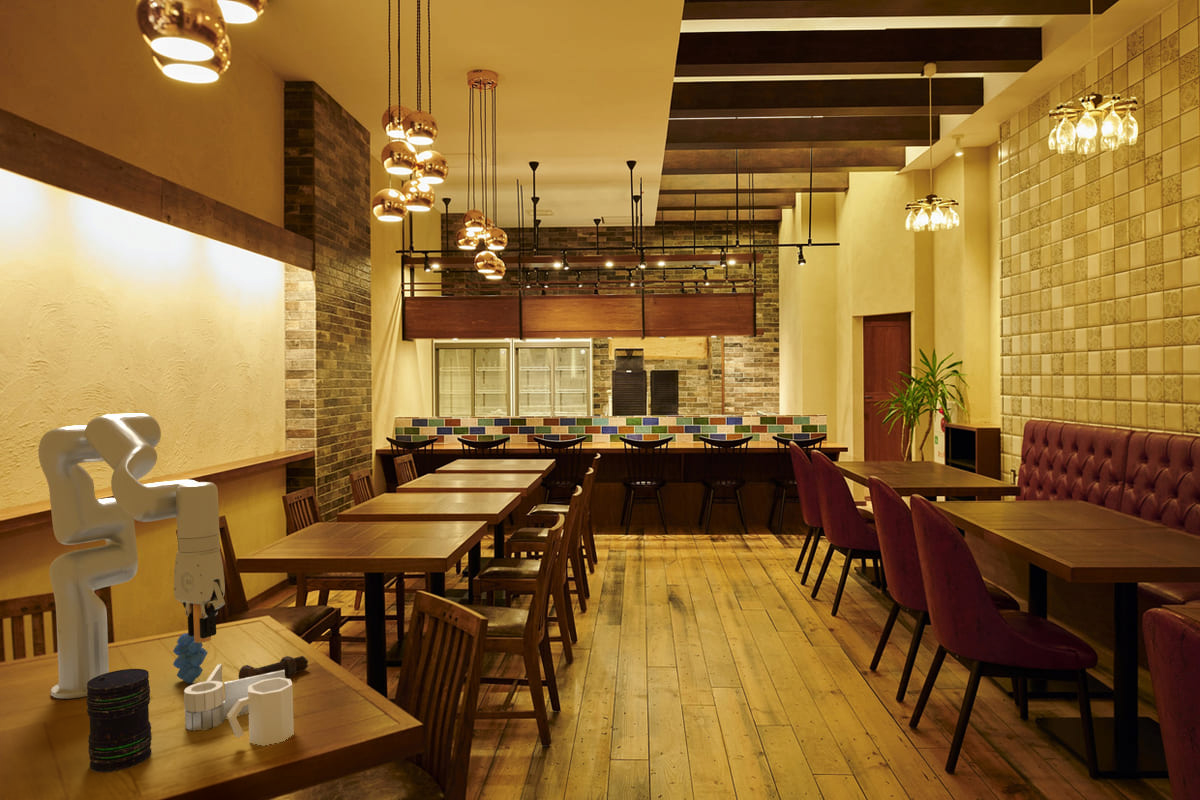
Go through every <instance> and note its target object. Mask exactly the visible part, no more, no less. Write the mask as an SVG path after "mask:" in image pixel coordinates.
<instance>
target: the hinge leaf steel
mask: <svg viewBox="0 0 1200 800" xmlns="http://www.w3.org/2000/svg"><path fill="white" fill-rule="evenodd" d="M278 677H280V678H286V677H285V671H284V670H281V671H276V672H271V673H266V674H262V675H257V676H252V677H247V678H243V679H239V678H238V679H235V680H229V681H224V682H223V690H224V702H223V703H222V704H221V705H220V706H218V707H216V708H213V709H210V710H205V711H199V712H196V711H195V712H191V711H187V710H186V709H185V708H184V719H185V720H184V726H185V729H186V730H187V729H188V730H187V731H192V730H193V731H192V732H196V731H195V730H202V729H203V730H202V731H206V730H210V729H209V728H211V729H212V727H214V728H216V727H218V726H220V725H221V724H220V723H222V724H223V723H224V722H225V720H226V719H225V718H228V717H227V714H228V713H229V711H230V710H231V709H232V707H233V706H234V705H235V703H236V702H237V701H238V699H242V698H246V697H248V686H250V685H252V684H254V683H256V682H259V681H261V680H265V679H271V678H278ZM246 713H249V709H248V705H244V706H243V707H242V709H241V711H240V712H239V714H238V715H241V716H243V715H242V714H246ZM246 715H247V714H246ZM219 724H220V725H219ZM217 725H218V726H217ZM215 726H216V727H215ZM205 729H206V730H205Z"/></svg>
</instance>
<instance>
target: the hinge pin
mask: <svg viewBox="0 0 1200 800" xmlns="http://www.w3.org/2000/svg"><path fill="white" fill-rule="evenodd" d="M210 605H211V604H209V605H207V608H208V607H209V606H210ZM200 618H202V615H201V605H200V604H193V619H194V642H195V643H202V644H203V643H206V642H210V641H211V640H212V636H210V637H207V638H204V639H203V638H200Z"/></svg>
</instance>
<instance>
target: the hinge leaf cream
mask: <svg viewBox="0 0 1200 800" xmlns="http://www.w3.org/2000/svg"><path fill="white" fill-rule="evenodd" d="M183 701H184V702H183V704H184V706H183V707H184V710H185V709H186V710H187V711H191V712H195V711H196V712H199V711H205V710H210V709H213V708H216V707H218V706H220V705H221V704H222V703H223V702H224V701H225V692H224V682H223V665H222V663H218V664H217V665H216V667H215V668H214V670H213V671H212V672H211V673H210V675H209V676H208V678H207V679H206V681H200V682H196V683H194V684H193V683H192V684H191V685H189V686H187V687H185V688H184V690H183Z"/></svg>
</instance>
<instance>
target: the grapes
mask: <svg viewBox="0 0 1200 800" xmlns="http://www.w3.org/2000/svg"><path fill="white" fill-rule="evenodd" d="M176 643H177V644H176V645H175V646H174V648H173V650H172V652H173V653H174V654H175V655H176V656H177V657H176V658H175V660H174V661H173V663H172V665H173V666H174V667H175V668H176V669H179V670H178V672H177V674H176V676H177V678H179V679H180V680H182V681H183V682H184V683H186V684H188V685H189V684H191V685H192V684H193V683H194V682H195V681H196V679H198V678H199V677H200V676H201V675H202V672H203V668H202V667H201V665H202V664H203V662H204V661H205V659H206V657H207V655H208V654H209V653H208V651H207V650H206V649H205V648H204V647H203V646H204V644H203V642H202V643H195V642H194V636H189V635H188V633H183V634H181V635H180V636H179V637H178V639H177V640H176Z"/></svg>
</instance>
